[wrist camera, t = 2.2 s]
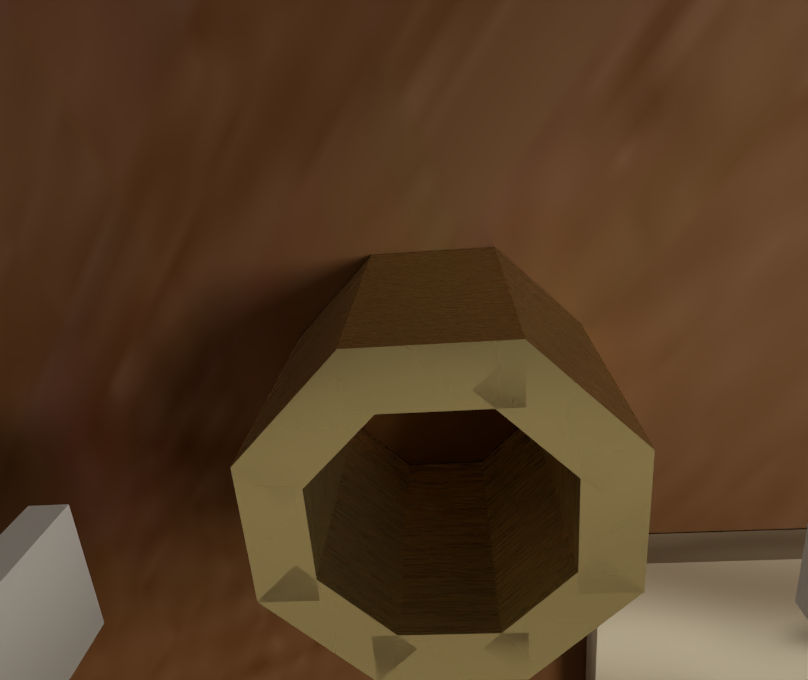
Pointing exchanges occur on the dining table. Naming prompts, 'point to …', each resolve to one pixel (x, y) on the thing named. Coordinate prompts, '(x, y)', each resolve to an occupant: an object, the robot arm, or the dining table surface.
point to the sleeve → (445, 477)
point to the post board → (710, 612)
